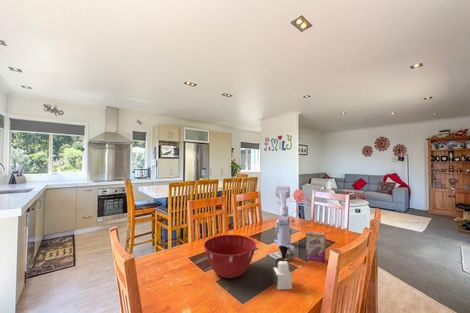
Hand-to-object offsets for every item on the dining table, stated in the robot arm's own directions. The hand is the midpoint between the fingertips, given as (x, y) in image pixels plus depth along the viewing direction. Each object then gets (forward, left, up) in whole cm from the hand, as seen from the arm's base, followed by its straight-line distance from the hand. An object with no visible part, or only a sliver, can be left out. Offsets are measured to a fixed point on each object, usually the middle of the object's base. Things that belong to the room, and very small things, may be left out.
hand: (283, 258), depth 127 cm
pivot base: (-8, -7, -2) cm, 10 cm away
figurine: (-67, -49, -2) cm, 83 cm away
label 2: (-3, -7, -1) cm, 8 cm away
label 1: (+1, -7, -1) cm, 7 cm away
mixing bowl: (+35, -5, -2) cm, 36 cm away
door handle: (-5, -3, 0) cm, 6 cm away
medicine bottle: (+19, +19, -2) cm, 27 cm away
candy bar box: (-18, +9, -2) cm, 20 cm away
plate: (-1, -7, -2) cm, 7 cm away
